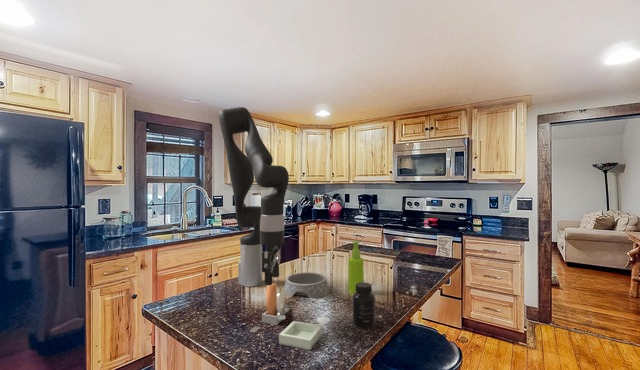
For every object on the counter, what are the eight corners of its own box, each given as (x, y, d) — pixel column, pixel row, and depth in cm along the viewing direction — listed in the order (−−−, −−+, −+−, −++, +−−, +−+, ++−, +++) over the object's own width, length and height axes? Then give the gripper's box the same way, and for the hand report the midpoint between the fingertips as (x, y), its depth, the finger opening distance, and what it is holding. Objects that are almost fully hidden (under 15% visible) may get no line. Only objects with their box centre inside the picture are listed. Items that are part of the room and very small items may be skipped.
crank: (272, 305, 106) (272, 280, 106) (284, 304, 107) (284, 280, 107) (274, 324, 91) (274, 296, 91) (288, 323, 92) (288, 295, 92)
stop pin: (265, 321, 96) (264, 285, 96) (269, 317, 99) (269, 282, 99) (273, 322, 95) (273, 286, 95) (278, 318, 98) (278, 283, 98)
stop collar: (261, 322, 96) (261, 314, 96) (270, 315, 101) (270, 308, 101) (276, 324, 94) (276, 317, 94) (284, 317, 99) (284, 310, 99)
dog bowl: (324, 300, 114) (324, 285, 114) (277, 297, 118) (277, 282, 118) (332, 285, 131) (332, 273, 131) (290, 283, 135) (290, 270, 135)
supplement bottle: (350, 319, 97) (350, 281, 97) (372, 318, 98) (371, 280, 98) (355, 329, 90) (354, 288, 90) (378, 328, 91) (377, 287, 91)
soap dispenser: (366, 290, 124) (365, 240, 124) (361, 295, 118) (360, 243, 118) (352, 288, 127) (352, 239, 127) (346, 293, 121) (346, 242, 121)
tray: (278, 344, 82) (278, 334, 82) (293, 329, 91) (293, 320, 91) (310, 350, 79) (310, 340, 79) (322, 334, 88) (322, 325, 88)
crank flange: (241, 329, 91) (241, 326, 91) (274, 305, 109) (274, 302, 109) (262, 333, 88) (262, 330, 88) (292, 308, 106) (292, 305, 106)
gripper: (278, 232, 90) (278, 288, 90) (288, 226, 104) (288, 275, 104) (253, 231, 91) (253, 287, 90) (266, 226, 105) (266, 274, 105)
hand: (272, 280), depth 97 cm, fingers open, 8 cm apart
